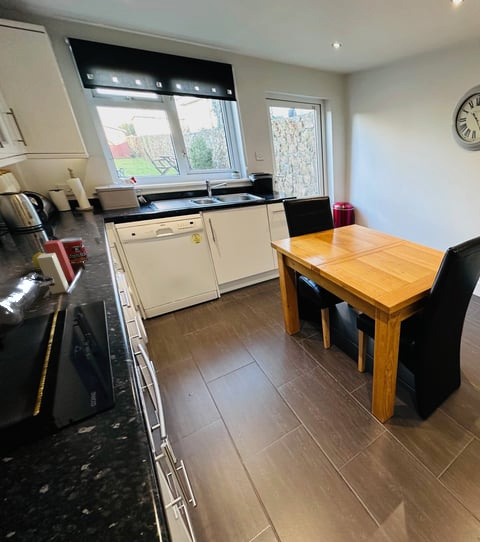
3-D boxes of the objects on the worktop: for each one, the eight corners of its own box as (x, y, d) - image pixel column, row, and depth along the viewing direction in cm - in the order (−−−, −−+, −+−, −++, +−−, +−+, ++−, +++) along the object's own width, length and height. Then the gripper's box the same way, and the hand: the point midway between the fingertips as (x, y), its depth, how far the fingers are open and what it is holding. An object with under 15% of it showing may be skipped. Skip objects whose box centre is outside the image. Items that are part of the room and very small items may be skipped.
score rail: (43, 301, 101) (38, 290, 99) (62, 273, 123) (58, 264, 122) (73, 295, 105) (69, 285, 104) (86, 269, 128) (83, 261, 126)
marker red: (59, 282, 112) (43, 244, 106) (62, 278, 116) (47, 241, 110) (72, 280, 114) (57, 242, 108) (75, 276, 118) (60, 239, 112)
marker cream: (52, 294, 103) (36, 258, 98) (55, 289, 107) (40, 254, 102) (66, 291, 105) (51, 256, 100) (69, 286, 109) (55, 252, 104)
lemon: (49, 270, 125) (42, 254, 122) (33, 271, 124) (25, 254, 121) (57, 266, 130) (50, 250, 127) (42, 267, 129) (35, 250, 126)
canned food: (70, 264, 133) (62, 242, 128) (65, 261, 137) (56, 239, 132) (91, 260, 139) (83, 238, 134) (86, 256, 143) (78, 235, 138)
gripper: (43, 279, 78) (58, 260, 91) (-32, 290, 71) (-4, 268, 84) (53, 302, 81) (67, 281, 94) (-18, 316, 74) (7, 291, 87)
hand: (33, 275), depth 89 cm, fingers closed
